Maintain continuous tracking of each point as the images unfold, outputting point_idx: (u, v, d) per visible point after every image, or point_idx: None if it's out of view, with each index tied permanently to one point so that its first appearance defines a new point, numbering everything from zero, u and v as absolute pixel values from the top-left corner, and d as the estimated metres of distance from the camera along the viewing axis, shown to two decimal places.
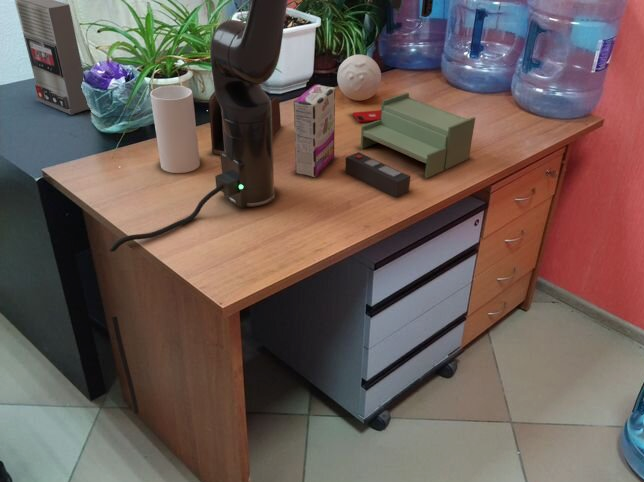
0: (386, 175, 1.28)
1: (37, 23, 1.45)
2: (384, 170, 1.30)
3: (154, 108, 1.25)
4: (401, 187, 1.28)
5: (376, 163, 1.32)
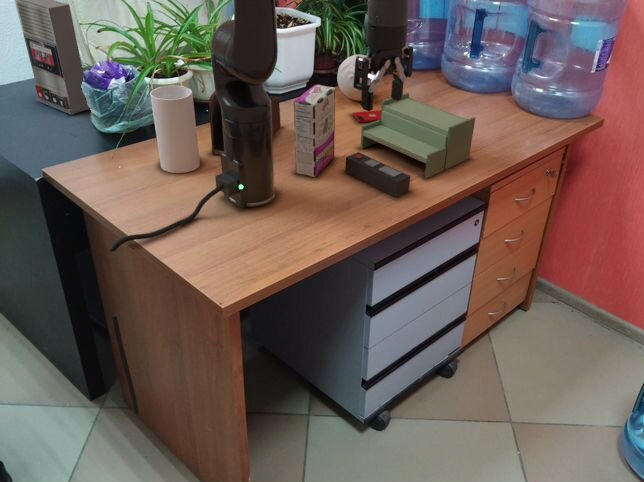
0: (386, 175, 1.28)
1: (37, 23, 1.45)
2: (384, 170, 1.30)
3: (154, 108, 1.25)
4: (401, 187, 1.28)
5: (376, 163, 1.32)
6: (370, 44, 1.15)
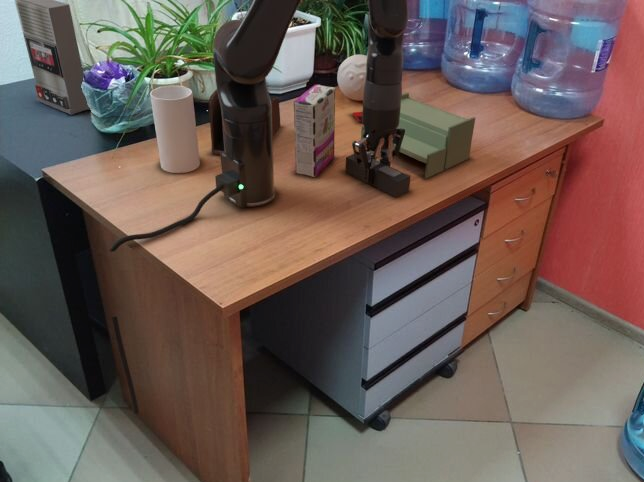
0: (386, 175, 1.28)
1: (37, 23, 1.45)
2: (384, 170, 1.30)
3: (154, 108, 1.25)
4: (401, 187, 1.28)
5: (376, 163, 1.32)
6: (365, 124, 1.24)
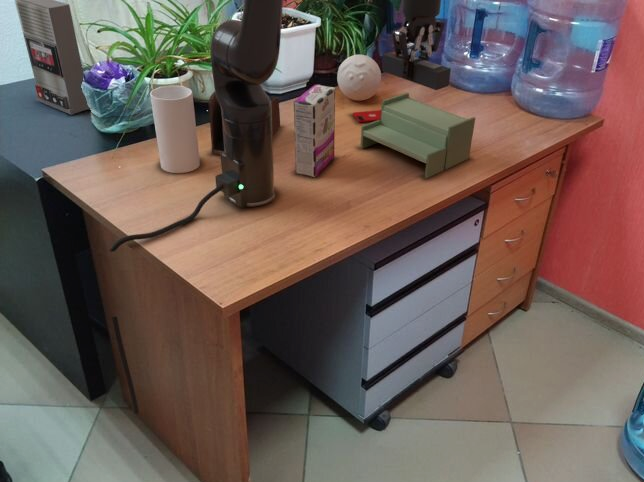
0: (426, 67, 1.26)
1: (37, 23, 1.45)
2: (424, 63, 1.27)
3: (154, 108, 1.25)
4: (442, 80, 1.26)
5: (415, 58, 1.29)
6: (406, 12, 1.21)
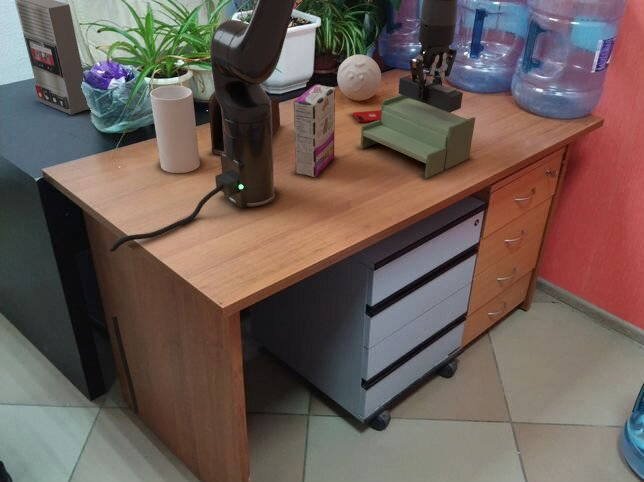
0: (440, 91, 1.36)
1: (37, 23, 1.45)
2: (438, 87, 1.37)
3: (154, 108, 1.25)
4: (455, 103, 1.36)
5: (429, 82, 1.40)
6: (422, 41, 1.32)
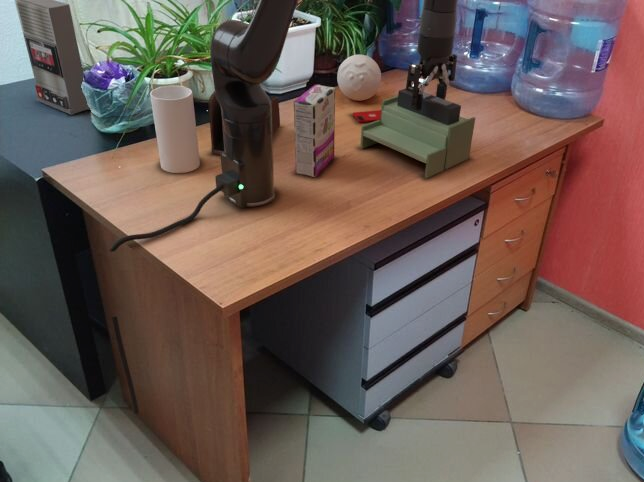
0: (438, 104, 1.38)
1: (37, 23, 1.45)
2: (436, 100, 1.39)
3: (154, 108, 1.25)
4: (453, 116, 1.38)
5: (428, 95, 1.41)
6: (421, 52, 1.33)
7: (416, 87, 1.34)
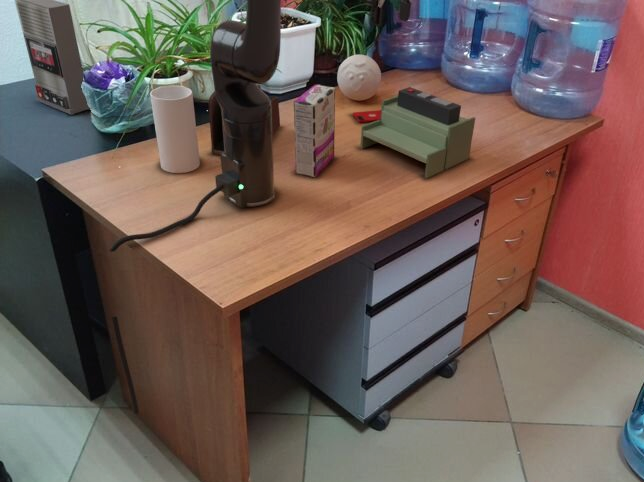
0: (438, 104, 1.38)
1: (37, 23, 1.45)
2: (436, 100, 1.39)
3: (154, 108, 1.25)
4: (453, 116, 1.38)
5: (428, 95, 1.41)
6: None
7: None
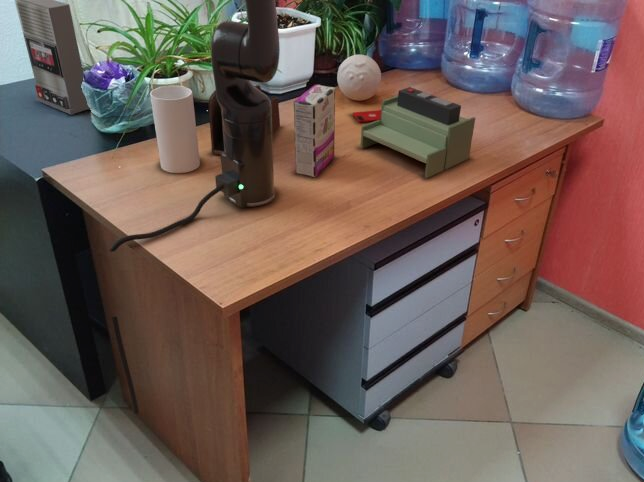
0: (438, 104, 1.38)
1: (37, 23, 1.45)
2: (436, 100, 1.39)
3: (154, 108, 1.25)
4: (453, 116, 1.38)
5: (428, 95, 1.41)
6: None
7: None
